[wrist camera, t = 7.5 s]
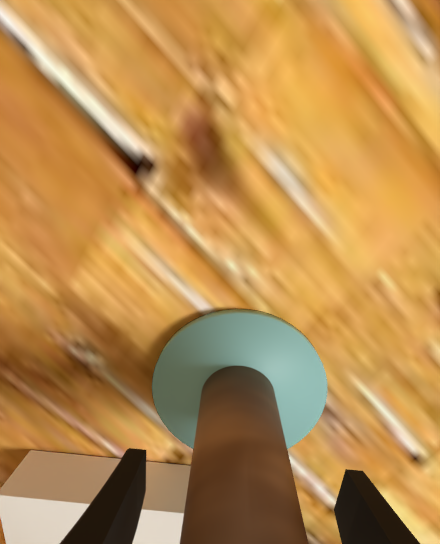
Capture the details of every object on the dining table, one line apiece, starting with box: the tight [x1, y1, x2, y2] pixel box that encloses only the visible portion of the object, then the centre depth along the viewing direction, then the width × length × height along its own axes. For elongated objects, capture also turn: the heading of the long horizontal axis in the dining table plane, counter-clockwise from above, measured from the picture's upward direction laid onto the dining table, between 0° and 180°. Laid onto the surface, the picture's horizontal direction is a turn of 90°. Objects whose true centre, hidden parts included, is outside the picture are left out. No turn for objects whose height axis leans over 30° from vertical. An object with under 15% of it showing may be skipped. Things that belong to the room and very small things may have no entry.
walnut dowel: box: [180, 366, 308, 544], centre depth 10 cm, size 4×4×8 cm
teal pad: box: [152, 309, 327, 449], centre depth 14 cm, size 9×9×1 cm
